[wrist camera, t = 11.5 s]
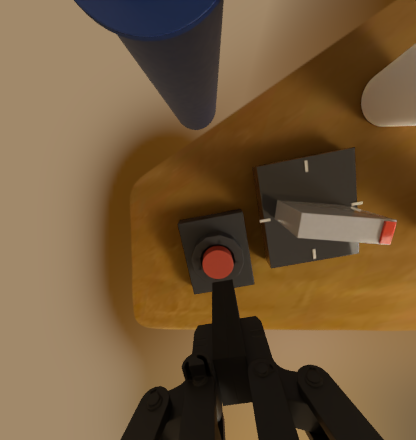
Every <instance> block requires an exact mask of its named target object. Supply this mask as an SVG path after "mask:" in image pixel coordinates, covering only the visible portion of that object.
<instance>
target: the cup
mask: <svg viewBox="0 0 416 440" xmlns="http://www.w3.org/2000/svg"><path fill="white" fill-rule="evenodd" d="M361 108H362V112H363V114H364V116H365V118H366V119H367V120H368V121H369V122H370V123H372V124H373V125H376V126H380V127H388V126H416V44H414V45H413V46H412V47H411V48H409V49H408V50H407V51H405V52H404V53H403V54H402V55H400V56H399V57H398V58H397V59H395V60H394V61H393V62H392V63H390V64H389V65H388V66H387V67H385V68H384V69H383V70H382V71H380V72H379V73H378V74H377V75H375V76H374V77H373V78H372V79H371V80H370V81H369V82H368V84H367V85H366V87H365V89H364V91H363V94H362V99H361Z"/></svg>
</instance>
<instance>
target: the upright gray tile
mask: <svg viewBox="0 0 416 440" xmlns="http://www.w3.org/2000/svg"><path fill="white" fill-rule="evenodd" d="M275 219H276V220H277V221H278V222H279V223H280V224H282V225H283V226H284V227H285V228H286V229H287V230H289V231H290V232H291V233H292V234H293V235H295V236H296V237H297V238H306V239H319V240H332V241H345V242H358V243H371V244H384V245H390V244H391V241H392V237H393V234H394V230H395V227H396V223H397V220H395V219H392V218H388V217H385V216H381V215H378V214H375V213H371V212H368V211H364V210H361V209H357V208H354V207H351V206H347V205H336V204H323V203H310V202H297V201H284V200H277V206H276V212H275Z"/></svg>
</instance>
